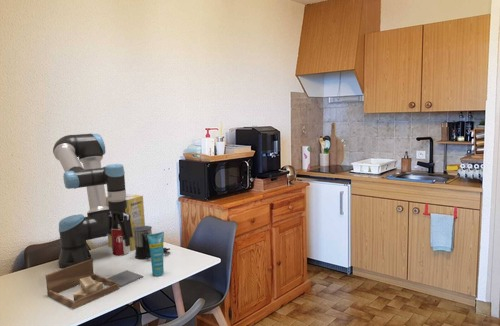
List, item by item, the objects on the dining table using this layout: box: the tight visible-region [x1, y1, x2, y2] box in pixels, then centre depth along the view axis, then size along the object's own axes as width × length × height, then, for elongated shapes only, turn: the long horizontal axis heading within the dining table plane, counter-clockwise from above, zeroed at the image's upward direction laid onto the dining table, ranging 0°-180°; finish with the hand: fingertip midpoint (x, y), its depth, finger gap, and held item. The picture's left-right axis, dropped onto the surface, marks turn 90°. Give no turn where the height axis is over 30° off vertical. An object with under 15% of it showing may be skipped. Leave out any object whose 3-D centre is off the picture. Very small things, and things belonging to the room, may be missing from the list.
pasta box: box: [106, 193, 146, 252], centre depth 217 cm, size 18×10×28 cm, turn 60°
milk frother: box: [133, 225, 171, 260], centre depth 202 cm, size 14×16×15 cm
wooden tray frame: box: [45, 259, 121, 310], centre depth 162 cm, size 20×20×9 cm
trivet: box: [106, 270, 144, 288], centre depth 174 cm, size 12×12×1 cm
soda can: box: [111, 225, 130, 257], centre depth 171 cm, size 7×7×12 cm
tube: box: [147, 231, 165, 277], centre depth 177 cm, size 7×5×19 cm, turn 123°
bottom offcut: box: [73, 281, 104, 301], centre depth 159 cm, size 5×12×4 cm, turn 167°
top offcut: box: [79, 276, 97, 293], centre depth 159 cm, size 4×9×3 cm, turn 37°
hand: (121, 251), depth 172 cm, fingers closed on soda can, 7 cm apart
